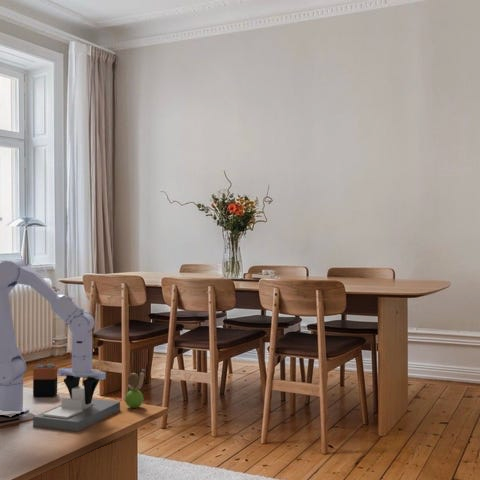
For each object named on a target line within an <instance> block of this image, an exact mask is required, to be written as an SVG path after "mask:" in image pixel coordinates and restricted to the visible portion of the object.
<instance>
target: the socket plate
mask: <svg viewBox="0 0 480 480" xmlns="http://www.w3.org/2000/svg"><path fill="white" fill-rule="evenodd" d="M58 407H61V404H60V405H58V406H55V407H53V408H51V409H47V410H45V411H44V412H41V413H38V414H35V415H33V417H32V426H33V427H37V428H38V427H39V428H47V429H57V430H61V431H62V430H64V431H72V432H81V430H85V429H86V428H87V427H89V426H92V425H93V424H96V423H98V422H100V421H102V420H103V419H105V418H108V417H109V416H111V415H114V414H116V413H117V412H119V411H121V401H116V400H106V399H105V400H104V399H96V398H92V405H91V407H89V408H86V409H82V410H83V412H81V413H78V414H76V415H74V416H72V417H70V418H68V419H66V418H57V417H49V416H43V414H44V413H47V412H49V411H51V410H54V409H56V408H58Z"/></svg>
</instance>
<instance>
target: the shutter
mask: <svg viewBox="0 0 480 480" xmlns="http://www.w3.org/2000/svg"><path fill="white" fill-rule="evenodd" d="M60 403H61V404H60V405H61V407H58V408H56V409H54V410H51V411H49V412H47V413H44V414H43V416H49V417H57V418H66V419H68V418H70V417H72V416H74V415H76V414H78V413H81V412H83V410H82V409H83V400H79V399H71V397H70V398H69V397H68V398H67V397H63V398H61V402H60Z"/></svg>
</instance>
